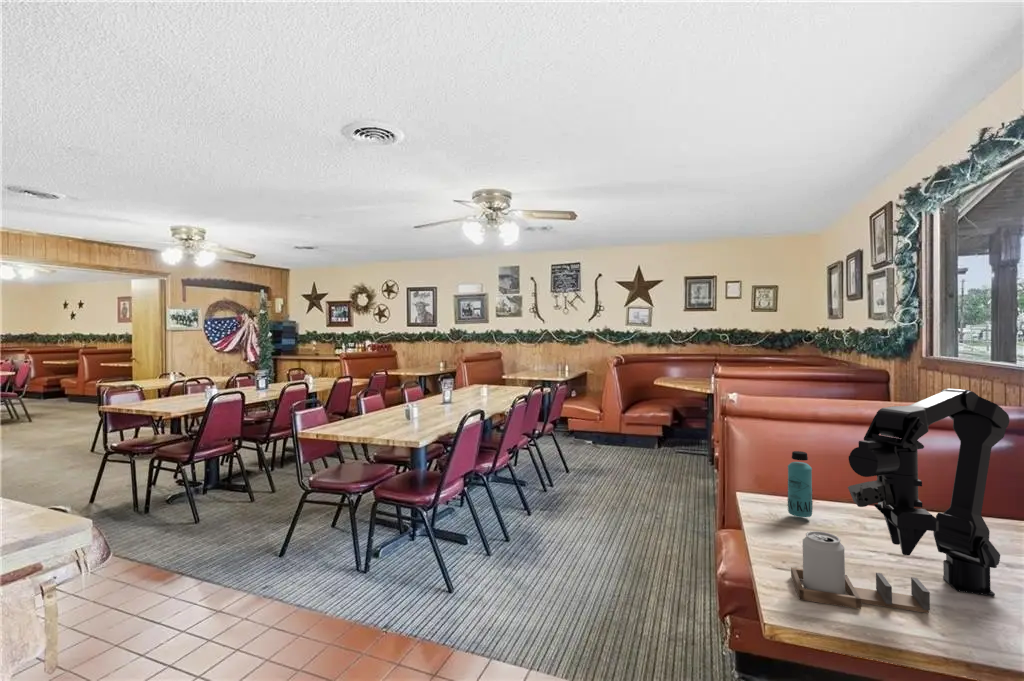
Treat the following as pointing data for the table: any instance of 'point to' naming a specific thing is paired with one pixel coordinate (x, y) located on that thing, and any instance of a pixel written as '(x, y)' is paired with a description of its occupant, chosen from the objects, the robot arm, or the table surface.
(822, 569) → the can
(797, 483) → the beverage bottle
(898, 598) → the wooden frame
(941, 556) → the table surface
